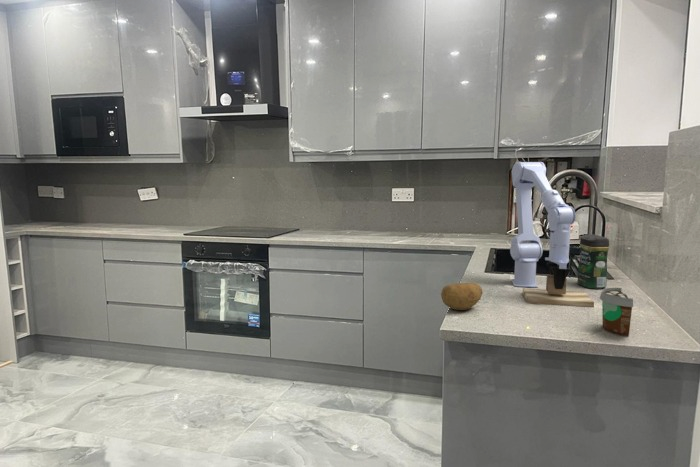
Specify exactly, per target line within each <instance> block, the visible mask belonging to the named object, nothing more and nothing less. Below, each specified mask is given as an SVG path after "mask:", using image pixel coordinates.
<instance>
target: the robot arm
mask: <svg viewBox="0 0 700 467" xmlns="http://www.w3.org/2000/svg"><path fill="white" fill-rule="evenodd" d="M511 180H512V186H513V187H514V188H515V201H516V205H515V206H516V218H517V234H516V235H515V236H513V237H512V238H511V240H510V248H509V249H510V250H509V253H510V256H511V258H512V260H514V277H513V278H514V279H513V278H512V279H511V282H512V284H513V286H514V287H522V288H538V287H539V286H538V284H537V282H536V277H537V275H536V274H537V262H539V259H541V258H542V256H543V252H544V251H543V246H542V243H541V238H540V237H539V236H538V235H536V234H535V233H534V222H533V221H534V220H533V208H532V188H533V187H536V188H537V190H538V191H539V193H540V195H541V197H540V201H541V203H542V205H543V206H544V208H545V211H546V212H547V221H548V229H549V230H550V232H549V233H550V236H549V238H550V239H549V250H548V251H549V253H548V254H549V255H548V257H544V260H545V261H548V262H546V266H547V267H548V270H549V275H553V277H554V286H555V289H563V286H564V283H565V280H566V279H567V276H568V274H570V272H571V268H570V267H568V266H567V265H568V263H570V259H569V256H570V242H571V230H572V229H571V228H572V227H571V226H572V225H573V224H574V223H575V221H576V215H577V214H576V210H575V209H574V207H573V206H569V204H566V203H565V201H564V200H563V198H562V196H561V195H560V193H559V191H558V190H556V189H553V188H552V186H551V183H550V182H549V180H548V178H547V167H546V164H545V163H544V162H542V161H516V162H515V163H514V165H513V166H512V169H511Z"/></svg>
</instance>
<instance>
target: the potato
mask: <svg viewBox="0 0 700 467" xmlns="http://www.w3.org/2000/svg"><path fill="white" fill-rule="evenodd" d="M482 295H483V289H482V287H481V285H480V284H478V283H475V282H458V283H452V284H447V285H445V286H444V287H443V288H442V289H441V293H440V297H441V299H442V303H443V304H444V305H445V306H447V307H448V308H450V309H453V310H457V311H467V310H469V309H471V308H472V307H474V306H475V305H477V303H479V302H480V300H481V299H482Z"/></svg>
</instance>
